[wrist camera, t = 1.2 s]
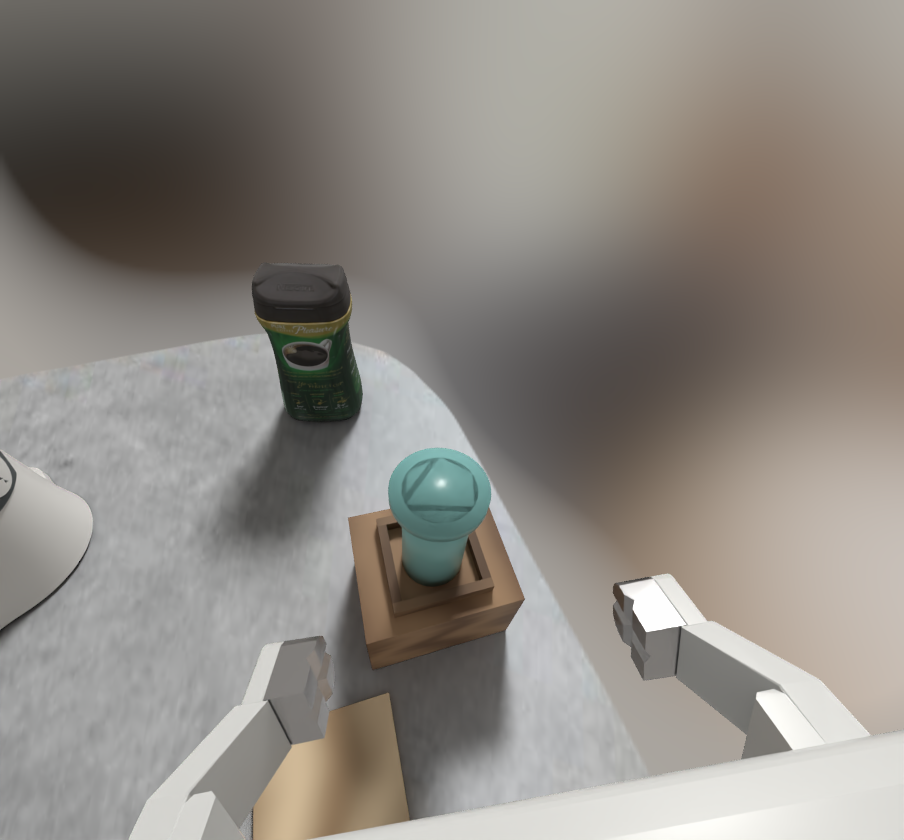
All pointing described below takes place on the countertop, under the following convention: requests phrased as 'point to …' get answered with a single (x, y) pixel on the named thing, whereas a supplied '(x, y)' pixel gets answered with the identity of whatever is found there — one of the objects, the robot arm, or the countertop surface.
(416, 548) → the stopper cap
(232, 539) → the countertop surface
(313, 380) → the coffee jar
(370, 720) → the cork mat
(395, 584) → the walnut box
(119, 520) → the countertop surface
